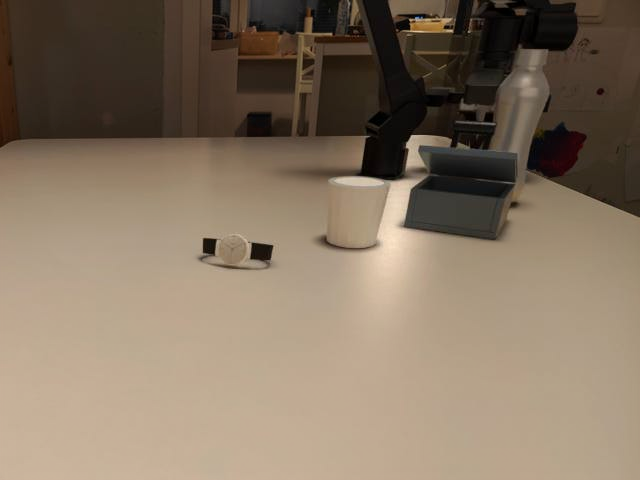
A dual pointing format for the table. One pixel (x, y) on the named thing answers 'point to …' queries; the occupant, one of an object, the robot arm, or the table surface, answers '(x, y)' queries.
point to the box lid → (471, 156)
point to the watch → (236, 249)
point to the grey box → (459, 206)
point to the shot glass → (355, 210)
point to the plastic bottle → (520, 109)
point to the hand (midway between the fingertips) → (473, 153)
